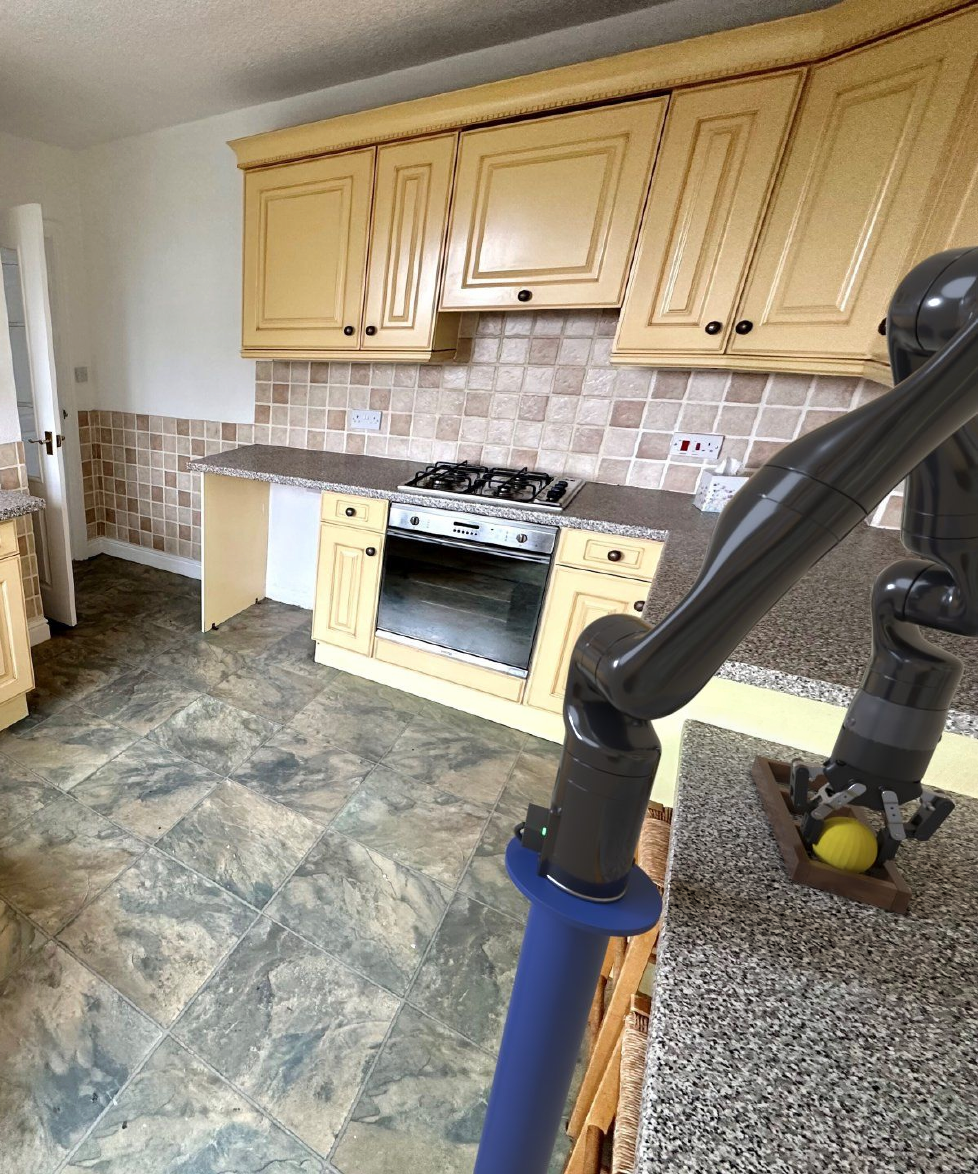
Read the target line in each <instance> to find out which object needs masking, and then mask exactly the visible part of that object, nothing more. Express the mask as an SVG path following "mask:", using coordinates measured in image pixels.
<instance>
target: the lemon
mask: <svg viewBox="0 0 978 1174" xmlns="http://www.w3.org/2000/svg"><path fill="white" fill-rule="evenodd" d="M877 848H878V845H877V840H876V837H875V836H874V834H873V832H872V831H871V830H870V829H869V828H868V827H867V826H865V825H864V824H863V823H861V822H859V821H858V820H857V819H855V818H847V817H833V818H830V819H827V820H825V823H824V825H823V828H822V830H821V833H820V836H819V838H818V841H817V844H816V845H814V844H813V850H812V851H813V853H814V854H815V856H816V857H817V859H818V860H819V862H821V863H824V864H828V865H831V866H835V867H838V868H842V869H845V870H849V871H852V872H855V873H859V874H861V873H863V872H866V871H868V868H869V867H870V866H871V865H872V864H873V863H874V861H875V859H876V856H877Z"/></svg>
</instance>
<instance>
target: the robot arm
mask: <svg viewBox="0 0 978 1174" xmlns="http://www.w3.org/2000/svg"><path fill="white" fill-rule="evenodd" d="M885 339H886V347H887V354H888V355H887V356H888V359H889V366H890V372H891V378H892V379H891V380H892V385H893V387H892V388H890V389H889V390H888V391H886V392H884V393H883V394H881V395H879V396H878V397H876V398H873V399H872V400H870V401H868V402H866V403H864V404H863V405H861V406H858V407H857V408H854V409H852V410H851V411H848V412H846V413H844V414H842V415H840V416H837V417H836V418H833V419H832V420H829V421H828V422H826V423H823V424H822V425H820V426H817V427H816V428H814V429H812V430H810V431H808V432H806V433H804V434H803V435H801V436H799V437H797V438H796V439H794V440H792V441H790V442H789V443H787V444H784V446H783V447H781V448H779V449H777V451H775V452H774V453H773V454H772V455H770V456H769V457H768V458H767V459H766V460H765V461H764V462H763V463H762V465H760V467H759V468H758V469H757V470H756V471H755V472H754V473H752V475H751V476H750V477H749V478H748V479H747V480H746V481H745V482H744V483H743V485H742V486H740V488H739V489H737V491H736V492H735V493H734V494H733V495H732V496H731V497H730V499H729V500H728V501H727V502H726V503H725V505H724V506H723V508H722V509H721V511H720V513H719V514H718V516H717V518H716V520H715V523H714V526H713V528H712V531H711V534H710V537H709V540H708V543H707V546H706V550H705V554H704V557H703V560H702V564H701V566H700V569H699V571H698V574H697V576H696V578H695V580H694V582H693V584H692V585H691V586H690V588H689V590H688V591H687V592H686V593H685V595H683V597H682V598H681V599H680V601H678V602H677V603H676V605H674V607H673V608H672V609H671V610H670V611H669V612H667V614H666V615H665V616H664V617H663V618H662V619H661V620H660V621H659V622H658V623H656V625H654V624H653V623H651V622H649V621H647V620H645V619H644V618H641V617H639V616H637V615H633V614H629V613H618V612H617V613H609V614H605V615H602V616H600V617H598V618H596V619H595V620H593V621H591V622H590V623H589V624H587V626H586V627H584V629H583V630H582V631H581V632H580V634H579V635H578V637H577V639H576V641H575V643H574V645H573V648H572V652H571V654H570V659H569V664H568V669H567V676H566V682H565V687H564V688H565V689H564V695H563V700H562V701H563V702H562V721H563V725H564V735H563V743H562V748H561V753H560V758H559V761H558V765H557V771H556V776H555V780H554V785H553V786H552V789H551V793H550V799H549V803H548V807H546V806H545V807H544V806H541V805H538V804H536V803H531V802H529V803H528V806H527V811H526V817H525V821H521V822H520V823H517V824H516V825H514V828H513V833H514V837H515V836H516V837H517V838H518V840H519V841H520V842H521V847H524V848H527V849H530V850H533V851H536V852H539V855H538V860H537V862H538V865H537V873H536V874H537V875H538V876H540V877H542V878H545V879H547V880H548V881H549V882H550V883H551V884H553V885H554V886H555V887H557V888H558V889H560V890H561V891H563V892H565V893H566V894H568V895H570V896H573V897H575V898H577V899H580V900H583V901H587V902H591V903H597V904H610V903H615V902H617V901H619V900H621V899H622V898H623V897H624V895H625V892H626V889H627V883H628V879H629V873H630V870H631V866H632V867H633V869H634V865H635V863H636V861H637V859H636V857H635V855H636V851H637V847H638V844H639V839H640V836H641V833H642V829H643V825H644V821H645V818H646V814H647V811H648V807H649V803H650V800H651V795H652V792H653V788H654V785H655V782H656V777H657V773H658V770H659V765H660V762H661V758H662V753H663V752H662V751H663V747H662V743H661V740H660V737H659V735H658V733H657V732H656V730H655V727H654V725H653V722H652V721H656V720H660V719H664V718H666V717H668V716H670V715H673V714H674V713H676V712H678V711H680V710H681V709H683V708H684V707H686V706H687V705H688V704H689V703H690V702H691V701H693V699H695V698H696V697H697V696H698V695H699V694H700V692H702V690H704V688H705V687H706V686H707V685H708V683H709V682H711V680H712V679H713V677H714V676H715V675H716V674H717V672H718V671H720V669H721V668H722V666H723V665H725V663H726V662H727V661H728V660H729V658H730V657H732V654H733V653H734V652H735V651H736V650H737V648H739V646H740V645H741V644H742V643H743V641H744V640H745V639H746V637H748V635H749V634H750V633H751V632H752V631H753V630H754V629H755V627H756V626H757V625H758V624H759V623H760V622H761V621H762V620H763V619H764V618H765V617H766V616H767V615H768V614H769V613H770V612H771V611H772V609H774V607H775V606H777V604H778V603H780V601H781V600H782V599H784V597H785V596H787V594H788V593H790V591H791V590H792V589H793V588H794V587H795V586H796V585H797V584H798V583H799V582H800V581H801V580H802V579H803V578H804V577H805V576H806V575H807V574H808V573H809V572H810V571H811V570H812V569H813V568H814V567H815V566H816V565H818V563H820V562H821V561H822V560H823V559H824V558H825V557H826V556H827V555H828V554H830V553H831V552H832V551H833V550H834V549H835V548H837V547H838V546H839V545H840V544H841V543H842V542H843V541H844V540H845V539H846V538H847V537H848V536H849V535H851V533H852V532H853V531H854V530H855V529H857V527H858V526H860V524H862V523H863V522H864V520H866V518H868V517H869V516H870V515H871V514H872V513H873V512H874V510H875V509H876V508H877V507H878V506H879V505H880V504H881V503H882V502H883V501H884V500H885V499H886V498H887V497H888V496H889V495H890V494H891V492H893V491H894V490H895V489H896V487H898V486H899V485H900V484H901V483H902V482H903V481H904V482H903V494H902V502H901V503H902V504H901V516H900V527H899V539H900V543H901V546H902V547H903V548H904V549H905V550H907V551H908V552H909V553H911V554H914V555H915V556H918V557H919V558H904V559H899V560H897V561H894V562H892V563H890V564H889V565H887V566H886V567H884V568H883V569H882V570H881V571H879V573H878V574H877V576H876V577H875V579H874V581H873V583H872V585H871V589H870V594H869V606H870V607H869V609H870V621H871V622H870V623H871V624H870V625H871V639H870V640H871V642H870V643H871V645H870V646H871V647H870V648H871V649H870V656H869V658H868V662H867V664H866V667H865V670H864V673H863V676H862V678H861V681H860V684H859V686H858V688H857V690H856V692H855V693H854V694H853V696H852V698H851V700H850V702H849V705H848V707H847V710H846V713H845V715H844V718H843V721H842V724H841V727H840V729H839V732H838V735H837V737H836V739H835V742H834V745H833V748H832V751H831V754H830V756H829V757H828V758H827V759H826V760H825V761H823V762H822V763H814V762H805V761H804V759H802V758H799V757H794V758H793V759H791V761H790V763H791V775H790V784H789V789H790V790H789V796H790V799H791V800H792V802H793V805H794V807H795V808H796V809H797V810H803V811H805V815H803V818H802V820H801V822H802V823H801V826H800V829H801V832H802V835H803V837H805V838H806V840H807V842H808V843H811V844H814V845H816V844H817V841H818V838H819V836H820V833H821V830H822V828H823V825H824V823H825V821H824V819H823V818H824V817H825V816H827V815H828V814H829V813H831V812H832V811H833V810H839V809H840V808H841V807H843V806H844V805H845V804H850V805H854V806H860V807H864V808H866V809H868V810H871V811H875V812H878V813H880V814H881V818H882V822H883V825H884V827H881V826H880V827H879V830H878V832H877V833H876V834H877V837H876V840H877V845H878V848H877V856H876V859H875V861H876V862H880V863H883V864H884V863H885V862H886V860H889V861H891V860H892V861H893V860H894V859H895V858H896V855H897V853H898V851H899V848H900V846H901V844H902V842H903V841H904V840H917V841H919V842H928V841H929V840H930V839H931V838H932V837H933V835H934V834H935V833H936V832H937V830H938V829H939V828H940V827H941V826H942V825H943V823H944V822H945V821H946V820H947V818H948V817H949V816H950V815H951V813H953V811H954V810H955V809H956V804H955V803H954V802H953V800H952V799H951V798H950V797H949V795H948V794H947V793H946V791H943V790H941V789H933V790H931V789H928V788H926V787H922V780H923V779H924V778H925V774H926V772H927V770H928V767H929V765H930V764H931V761H932V758H933V756H934V753H935V751H936V749H937V746H938V744H939V743H940V742H941V741H942V738H943V732H944V730H945V726H946V723H947V718H948V712H949V709H950V707H951V704H952V702H953V700H954V697H955V694H956V693H957V689H958V687H959V686H960V683H961V681H962V678H963V676H964V673H965V664H964V661H962V660H961V659H960V657H958V656H957V655H955V654H953V653H952V652H949V651H948V650H945V649H943V648H941V647H939V646H937V645H935V644H933V643H932V642H930V641H928V640H927V639H926V638H924V636H923V634H922V633H921V630H920V627H924V628H927V629H930V630H935V631H939V632H941V633H947V634H950V635H953V636H958V637H962V638H966V639H977V640H978V245H971V246H961V247H956V248H955V247H953V248H950V249H946V250H943V251H939V252H936V253H934V254H932V255H930V256H928V257H926V258H925V259H923V260H922V261H920V262H919V263H918V264H916V265H915V266H914V267H913V268H911V270H910V271H908V272H907V274H906V275H904V277H903V278H902V280H901V281H900V282H899V283H898V285H897V286H896V288H895V290H894V292H893V294H892V296H891V298H890V301H889V304H888V308H887V312H886V319H885ZM920 558H923V559H920ZM820 774H824V776H825V777H826V779H827V781H828V783H827V784H825V785H824V786H823V787H822V788H820V789H819V791H817V794H814V795H815V796H814V797H813V798H811V799H808V798H807V797H808V794H809V789H808V783H809V781H814V780H815V779H816V777H817V776H818V775H820ZM918 798H919V799H918ZM916 799H918V802H919V804H920V806H919V807H918V808H917V810H916V811H915V812H914V813H913V814H912V815H911V817H910V818H909V820H908V821H907V822H904V821H903V817H902V816H903V815H902V812H901V808H900V806H902V805H905V804H907V803H909V802H911V801H914V800H916ZM521 831H523V836H522V834H521V833H522V832H521Z"/></svg>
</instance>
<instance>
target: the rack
mask: <svg viewBox="0 0 978 1174" xmlns="http://www.w3.org/2000/svg"><path fill="white" fill-rule="evenodd" d="M750 773H751V774H750V775H751V777H752V779H753V782H754V784H755V787H756V789H757V792H758V795H759V797H760V800H761V804H762V805H763V808H764V811H765V814H766V816H767V818H768V822H769V824H770V826H771V830H772V832H773V835H774V837H775V840H776V843H777V846H778V849H779V851H780V853H781V856H782V859H783V862H784V864H785V866H786V869H787V872H788V875H789V877H790V880H791V882H794V883H797V884H801V885H804V886H806V887H807V886H808V887H811V888H814V889H816V890H817V889H818V890H821V891H824V892H827V893H830V894H834V895H837V896H841V897H844V898H847V899H850V900H853V901H858V902H861V903H864V904H868V905H871V906H874V907H877V908H879V909H884V910H887V911H889V912H894V913H897V914H901V915H905V913H906V911H907V909H908V906H909V904H910V902H911V900H912V897H913V895H914V894H913V893H912V891H911V888H910V887H909V886H908V884H907V882H906V880H905V879H904V877H903V876H902V874H901V872H900V871H899V869H898V867H897V866H896V864H895V862H894V860H893V859H892V860H891V861H889V860H886V862H885V863H884V864H883V863H880V862H876V861H874V863H873V864H872V865H871V866H870V867H869V868H868V869H867V871H868V873H869V875H870V876H869V875H866V874H862V873H855V872H852V871H849V870H845V869H842V868H838V867H835V866H831V865H828V864H824V863H822V862H821V861H817V860H814V859H810V858H809V856H808V853H807V851H806V849H807V850H811V851H814V850H813V844H811V843H808V842H807V840H806V838H805V837H803V835H802V832H801V829H800V826H801V823H802V821H799V820H796V819H793V818H792V816H791V814H790V813H794V814H797V815H800V816H804V815H805V811H803V810H797V809H796V808H795V807H794V805H793V802H792V800H791V799H790V796H789V790H790V788H787V787H782V786H778V783H777V782H779V783H783V784H788V785H790V775H791V762H787V761H783V760H779V759H774V758H769V757H765V756H762V755H761V756H760V755H757V754H756V755H755V756H754V760H753V763H752V766H751V769H750ZM827 783H828V781H827V779H826V777H825V776H824V774H820V775H818V776H817V777H816V779H815V780H814V781H809V783H808V790H810V791H816V792H819V789H820V788H822V787H823V786H824V785H825V784H827ZM815 795H816V794H811V793H808V797H807V798H808V799H811V798H813V797H814V796H815ZM833 817H847V818H855V819H857V820H858V821H859V822H861V823H863V824H864V825H865V826H867V827H868V828H869V829H870V830H871V831H872V832H873V834H874V836H875V837H877V834H878V833H877V832H876V831H875V829H874V827H873V825H872V824H871V822H870V821H869V819H868V817H867V815H866V814H865V812H864V811H863V809H862V806H854V805H850V804H845V805H844V806H843V807H841V808H840V809H839V810H833V811H832V812H831V813H829V814H828V815H827V816H825V817H824V818H823V819H824V821H825V820H827V819H830V818H833Z"/></svg>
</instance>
